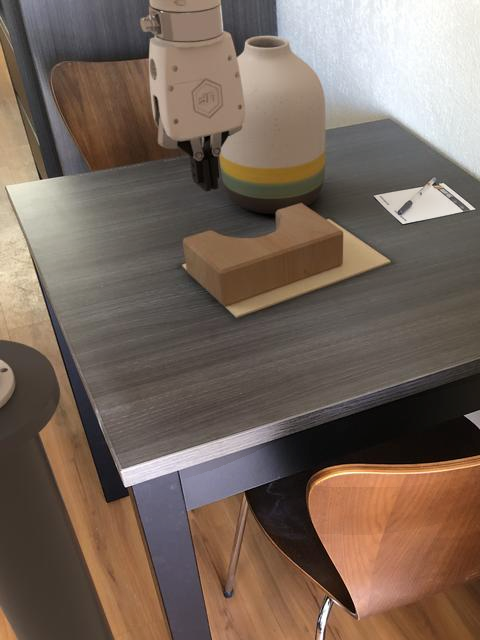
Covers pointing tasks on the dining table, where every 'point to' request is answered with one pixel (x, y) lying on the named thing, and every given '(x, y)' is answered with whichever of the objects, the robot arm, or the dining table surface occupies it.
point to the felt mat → (316, 276)
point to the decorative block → (264, 255)
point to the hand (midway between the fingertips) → (206, 186)
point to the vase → (276, 130)
